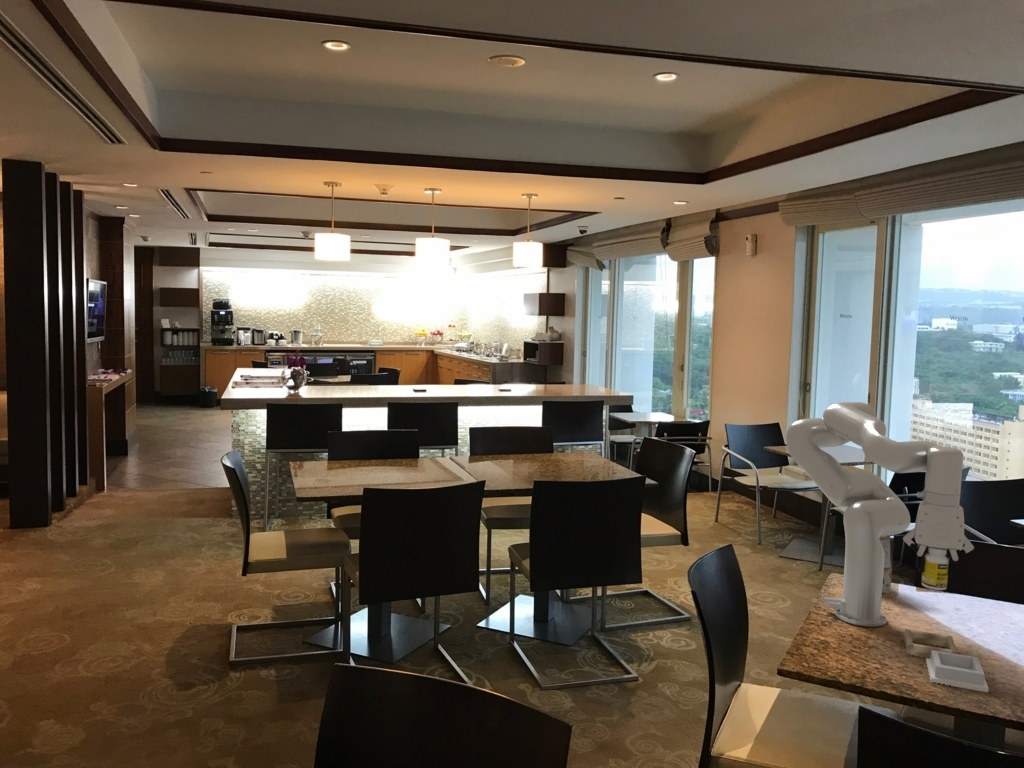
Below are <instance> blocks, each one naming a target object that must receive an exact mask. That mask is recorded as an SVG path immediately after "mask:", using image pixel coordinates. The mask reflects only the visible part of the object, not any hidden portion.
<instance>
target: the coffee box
mask: <svg viewBox="0 0 1024 768" xmlns="http://www.w3.org/2000/svg"><path fill="white" fill-rule="evenodd" d="M879 539H880V542H881V545H882V547H883V550H884V573H883V587H882V594H884V593H885V594H886V593H887V594H890V593H891V588H892V575H893V559H894V558H893V557H894V543H895V539H894V538H893V537H891V536H890V535H887V536H881V537H879Z"/></svg>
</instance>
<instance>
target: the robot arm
mask: <svg viewBox="0 0 1024 768" xmlns="http://www.w3.org/2000/svg"><path fill="white" fill-rule="evenodd" d="M886 427H887V426H886V424H885V423H884V421H883V420H881V419H879V418H877V413H876V411H875V409H874V408H873V407H872V406H871V405H869V404H868V403H866V402H859V401H858V402H857V401H854V402H853V401H851V402H850V401H849V402H836V403H833V404H830V405H828V406H827V407H826V408H825V409H824V411H823V413H822V417H816V418H815V417H814V418H813V417H812V418H801V419H798V420H796V421H794V422H791V424H790V425H789V426H788V428H786V429H787V430H786V432H785V433H786V434H785V442H786V448H787V450H788V452H789V455H790V457H791V458H792V459H793V461H794V462H795V463H796V464H797V465H798V466H799V467H800V468H801V470H803V471H804V472H805V474H807V476H808V477H810V479H811V480H812V481H813V482H814V484H815V485H816V487H818V488H819V490H820V491H821V492H822V493H823V494H824V495H825V496H826V498H827V499H828V500H829V501H830V502H831V503H832V504H833V505H834V506H836V507H839V508H845V510H844V513H843V518H842V519H843V526H844V527H843V528H844V536H845V537H844V539H845V550H844V570H843V581H842V583H843V584H842V593H841V594H840V597H836V598H834V597H833V598H832V597H828V596H824V597H823V605H827V606H828V608H835V609H834V615H835V616H836V617H837V619H839V620H841V621H843V622H846V623H848V624H852V625H855V626H860V627H869V628H870V627H872V628H873V627H876V628H877V627H882V626H884V625H886V624H887V620H888V619H887V616H886V615H885V614H884V613H882V612H881V610H882V601H883V600H882V599H883V598H882V597H883V593H882V587H883V573H884V550H883V547H882V545H881V542H880V539H879V537H881V536H894V535H900V534H902V533H904V532H905V531H906V530H908V528H909V526H910V524H911V515H910V512H909V509H908V508H907V506H906V505H905V503H904V502H903V501H902V500H901V498H900V497H899V496H898V495H897V494H896V493H895V492H894V491H893V490H892V489H891V488H890V486H889V485H887V483H885V481H883V479H881V477H880V476H878V475H876V474H875V473H873V472H870V471H865V470H857V471H856V470H855V471H851V470H847V469H846V468H845V467H844V466H842V465H841V464H840V462H839V461H838V460H837V459H836V458H835V457H834V456H832V454H830V453H828V452H826V451H825V450H823V449H824V448H835V447H840V446H843V445H845V444H848V443H849V442H851V443H853V444H855V445H856V446H858V447H861V449H862V451H863V454H864V455H865V456H866V458H867V459H868V460H869V461H870V462H872V463H873V464H876V465H878V467H879V466H880V467H881V468H883V469H885V470H887V471H890V472H892V473H897V474H906V473H907V474H908V473H925V477H924V478H925V479H924V488H923V490H922V491H917V493H916V498H918V499H919V498H920V499H922V500H921V501H920V502H919V506H918V509H917V512H916V518H915V524H914V528H912V529H911V530H909V531H908V532H907V533H906V534H905V535H904V536H903V537H902V541H903V542H904V543H905V544H907V546H909V547H910V548H911V550H912V551H913V552H914V553H915V554H916V555H917V556H916V564H915V566H916V569H918V571H919V573H920V574H922V573H923V571H924V560H925V557H924V556H925V554H924V553H925V551H926V549H927V548H928V547H935V548H943V549H947V550H949V553H950V555H949V557H947V558H948V559H949V570H948V577H949V578H953V574H956V571H957V570H956V567H957V562H958V561H959V559H961V558H962V557H964V556H965V555H966V554H968V553H970V552H971V551H973V550H974V549H975V546H974V545H973V544H972V543H971V541H970V540H969V539H968V538H967V536H966V535H965V515H964V508H963V507H962V506H961V505H960V499H961V490H962V489H961V488H962V477H963V466H964V453H963V450H961V449H959V448H956V447H951V446H943V445H940V444H938V443H936V442H933V441H928V440H909V441H908V440H907V441H896V440H893V439H891V438H889V437H886V434H887V428H886ZM822 448H823V449H822ZM913 538H914V540H915V542H914V541H913V540H912V539H913Z"/></svg>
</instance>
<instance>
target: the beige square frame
mask: <svg viewBox="0 0 1024 768" xmlns="http://www.w3.org/2000/svg"><path fill="white" fill-rule="evenodd" d="M903 640H904V645H906V646H905V650H907V651H906V655H907V654H910V655H909V656H912V655H917V656H916V657H918V656H922V657H921V658H924V657H927V658H928V659H930V658H931V650H935V651H941V652H947V653H954V654H959V652H958V650H957V647H956V644H955V642H954V641H955V640H954V638H953V635H952V636H951V635H946V634H940V633H933V632H927V631H921V630H914V629H908V628H904V634H903ZM913 641H914V642H913ZM918 642H921V643H918ZM917 643H918V644H917ZM924 643H927V644H925V645H924ZM930 644H933V645H930ZM936 645H939V646H937V647H936ZM943 646H944V647H943ZM942 647H943V648H942Z"/></svg>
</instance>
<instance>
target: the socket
mask: <svg viewBox="0 0 1024 768" xmlns="http://www.w3.org/2000/svg"><path fill="white" fill-rule="evenodd" d="M925 663H926V664H927V665H926V667H927V668H928V669H927V668H926V669H927V672H929V673H928V676H930V677H929V680H931V681H930V683H932V682H936V683H935V684H938V683H940V684H939V685H943V684H945V685H944V686H949V685H951V686H950V687H955V688H956V687H957V688H962V689H967V690H973V691H978V692H983V693H989V686H988V683H987V680H986V678H985V677H986V676H985V672H984V670H983V667H982V665H981V662H980V660H979V657H977V656H971V655H964V654H959V653H958V654H954V653H947V652H941V651H935V650H931V659H930V658H925Z"/></svg>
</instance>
